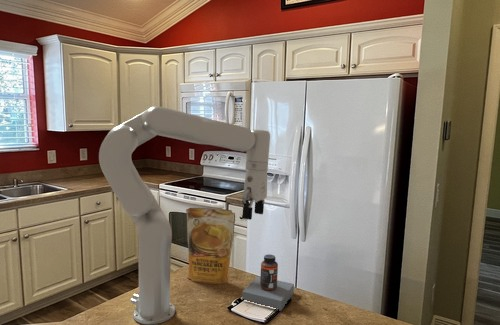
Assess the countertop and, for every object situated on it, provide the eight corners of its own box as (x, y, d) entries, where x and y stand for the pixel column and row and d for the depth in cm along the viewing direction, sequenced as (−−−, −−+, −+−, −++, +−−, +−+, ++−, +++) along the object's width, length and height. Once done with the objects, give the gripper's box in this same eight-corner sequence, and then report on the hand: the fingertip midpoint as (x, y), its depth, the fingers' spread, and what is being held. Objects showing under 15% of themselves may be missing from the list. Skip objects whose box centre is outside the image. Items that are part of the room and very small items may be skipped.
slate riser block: (242, 301, 116) (242, 291, 115) (258, 284, 128) (258, 276, 128) (280, 311, 110) (281, 300, 109) (293, 293, 122) (294, 283, 122)
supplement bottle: (275, 292, 115) (276, 260, 114) (258, 290, 117) (259, 258, 116) (278, 284, 121) (279, 254, 120) (261, 282, 122) (262, 252, 121)
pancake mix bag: (188, 273, 136) (189, 205, 134) (234, 278, 133) (236, 209, 131) (182, 280, 130) (182, 209, 127) (230, 286, 127) (232, 213, 124)
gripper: (256, 169, 105) (252, 223, 106) (276, 166, 120) (272, 213, 122) (235, 166, 108) (231, 219, 109) (256, 164, 124) (253, 210, 125)
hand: (253, 216), depth 115 cm, fingers open, 9 cm apart
